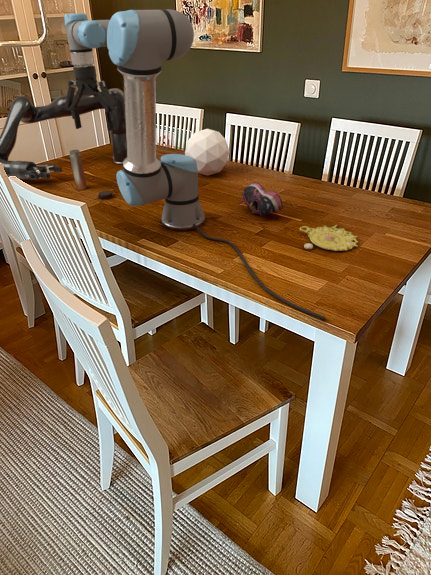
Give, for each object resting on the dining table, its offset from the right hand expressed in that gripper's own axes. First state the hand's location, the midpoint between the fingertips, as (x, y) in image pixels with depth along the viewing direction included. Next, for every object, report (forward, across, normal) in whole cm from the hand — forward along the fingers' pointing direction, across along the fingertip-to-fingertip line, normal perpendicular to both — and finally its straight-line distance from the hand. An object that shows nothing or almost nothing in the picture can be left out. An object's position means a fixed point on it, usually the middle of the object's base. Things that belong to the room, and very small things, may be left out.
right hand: (94, 129), depth 165 cm
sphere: (+27, -30, -38) cm, 56 cm away
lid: (+25, 0, 0) cm, 25 cm away
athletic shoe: (+27, -62, -2) cm, 68 cm away
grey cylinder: (+27, +16, -7) cm, 32 cm away
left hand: (+21, +27, -6) cm, 35 cm away
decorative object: (+27, -90, +15) cm, 95 cm away
